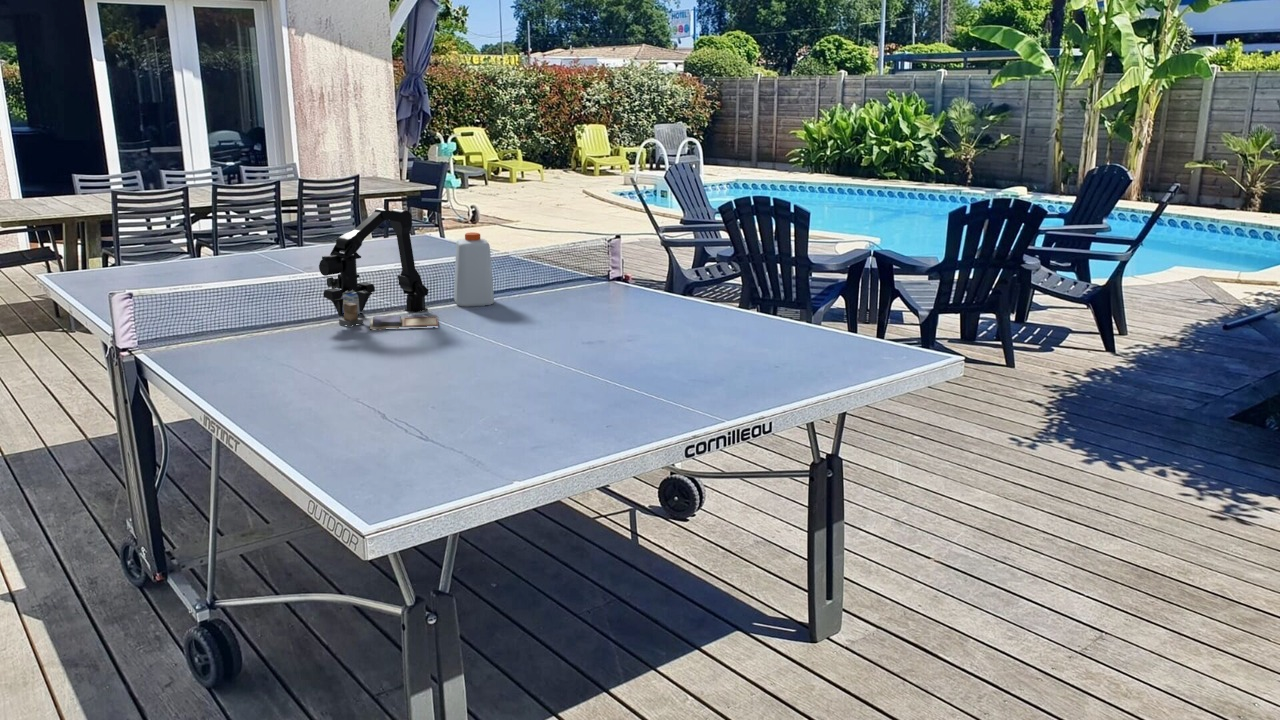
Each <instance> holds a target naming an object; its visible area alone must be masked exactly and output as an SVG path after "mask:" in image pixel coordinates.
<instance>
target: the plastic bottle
mask: <svg viewBox="0 0 1280 720" xmlns="http://www.w3.org/2000/svg"><path fill="white" fill-rule="evenodd" d="M455 244H456V245H455V260H454V261H455V262H454V267H455V268H454V282H453V283H454V287H453V288H454V289H453V300H454V302H455V304H456V305H458V306H459V307H462V308H463V307H467V308H470V307H486V306H485V305H489V306H492V305H493V304H494V303H495V296H494V295H495V293H494V284H493V283H494V282H493V280H494V279H493V272H492V259H491V256H492V255H491V249H490V248H491V245H490V244H489V241H487V240H486V239H484V238H481V233H479V232H474V231H473V232H471V231H470V232H466V233H465V234H464V238H461V239H458V240H456V243H455ZM491 304H492V305H491Z"/></svg>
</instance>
